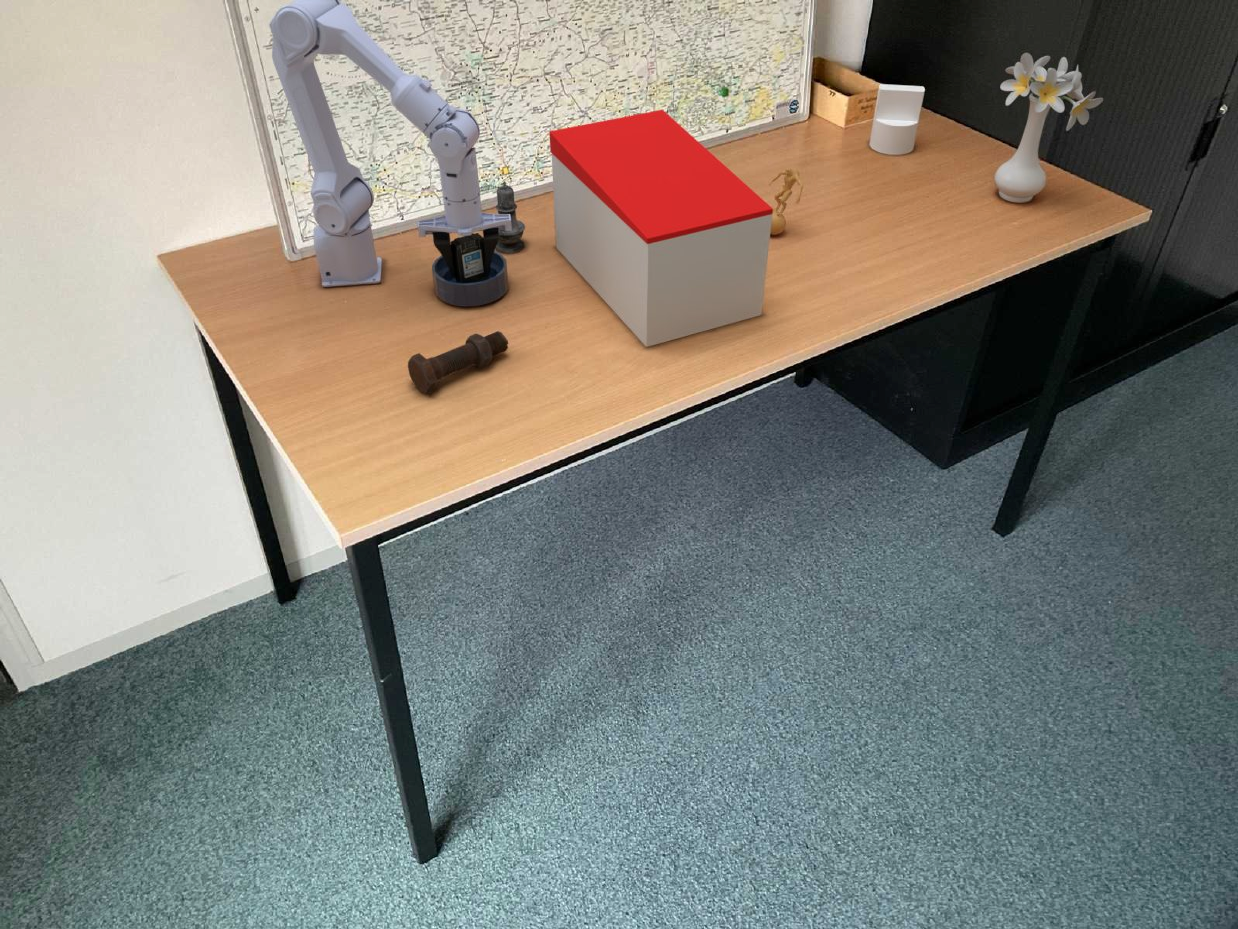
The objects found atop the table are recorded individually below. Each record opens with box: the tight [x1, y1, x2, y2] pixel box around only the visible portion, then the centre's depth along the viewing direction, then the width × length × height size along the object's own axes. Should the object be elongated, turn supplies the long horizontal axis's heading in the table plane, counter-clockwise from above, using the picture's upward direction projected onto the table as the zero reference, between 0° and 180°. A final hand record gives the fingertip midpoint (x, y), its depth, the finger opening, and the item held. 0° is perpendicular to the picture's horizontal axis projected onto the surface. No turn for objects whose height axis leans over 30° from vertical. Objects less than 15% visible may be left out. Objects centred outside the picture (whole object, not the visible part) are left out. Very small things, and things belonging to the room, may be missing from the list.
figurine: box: [768, 167, 804, 236], centre depth 176 cm, size 8×6×12 cm
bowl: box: [431, 250, 509, 307], centre depth 164 cm, size 12×12×4 cm
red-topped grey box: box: [548, 109, 774, 348], centre depth 161 cm, size 21×35×21 cm, turn 26°
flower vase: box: [993, 52, 1104, 204], centre depth 182 cm, size 13×18×25 cm
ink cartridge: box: [450, 232, 489, 283], centre depth 162 cm, size 5×2×8 cm, turn 123°
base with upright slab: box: [868, 83, 926, 156], centre depth 205 cm, size 9×9×12 cm
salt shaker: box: [495, 181, 526, 254], centre depth 173 cm, size 6×6×12 cm
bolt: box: [407, 330, 509, 395], centre depth 146 cm, size 6×5×15 cm
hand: (470, 271), depth 163 cm, fingers closed on ink cartridge, 5 cm apart
